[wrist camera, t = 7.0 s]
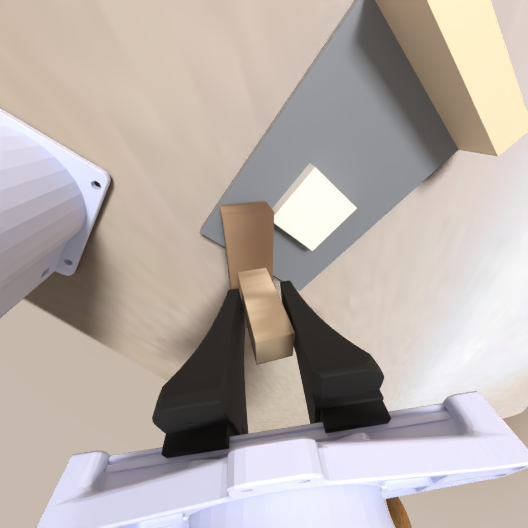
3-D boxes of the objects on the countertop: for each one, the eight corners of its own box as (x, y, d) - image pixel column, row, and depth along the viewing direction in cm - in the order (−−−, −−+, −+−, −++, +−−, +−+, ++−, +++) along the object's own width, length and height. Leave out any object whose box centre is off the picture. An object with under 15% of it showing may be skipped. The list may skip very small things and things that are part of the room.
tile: (308, 242, 16) (312, 251, 15) (268, 213, 15) (270, 220, 14) (349, 201, 15) (357, 208, 14) (309, 162, 13) (315, 167, 12)
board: (297, 283, 20) (306, 312, 17) (201, 226, 16) (193, 251, 13) (470, 125, 13) (532, 128, 11) (386, -47, 9) (451, -118, 6)
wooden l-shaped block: (234, 311, 19) (250, 400, 13) (219, 205, 13) (238, 278, 7) (265, 305, 20) (295, 387, 14) (265, 200, 14) (315, 265, 8)
